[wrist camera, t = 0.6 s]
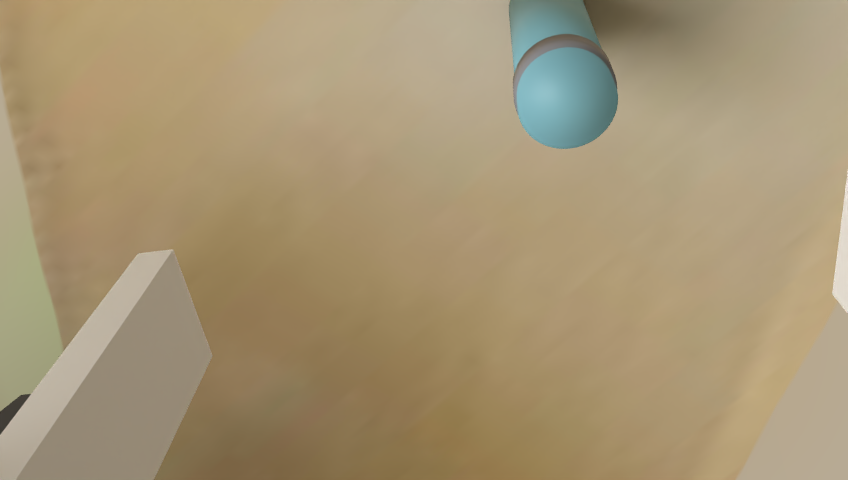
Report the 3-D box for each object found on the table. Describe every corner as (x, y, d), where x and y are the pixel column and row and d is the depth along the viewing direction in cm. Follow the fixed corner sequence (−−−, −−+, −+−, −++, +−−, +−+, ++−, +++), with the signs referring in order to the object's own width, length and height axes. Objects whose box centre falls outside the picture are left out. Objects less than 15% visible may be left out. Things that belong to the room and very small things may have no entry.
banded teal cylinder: (576, -41, 36) (612, 40, 26) (590, 35, 38) (627, 138, 28) (499, -19, 36) (504, 68, 26) (516, 54, 38) (526, 160, 28)
